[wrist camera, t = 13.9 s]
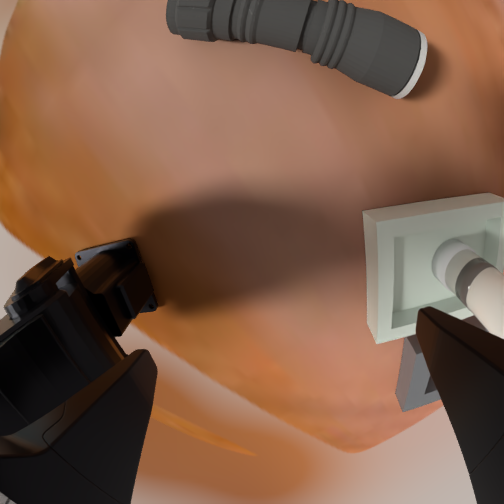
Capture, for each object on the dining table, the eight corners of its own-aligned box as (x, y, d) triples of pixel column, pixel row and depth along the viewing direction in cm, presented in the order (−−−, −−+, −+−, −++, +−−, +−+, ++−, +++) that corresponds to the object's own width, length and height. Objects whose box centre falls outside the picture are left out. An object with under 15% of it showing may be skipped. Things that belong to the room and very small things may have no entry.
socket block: (395, 393, 27) (402, 412, 24) (405, 334, 24) (416, 354, 21) (458, 371, 26) (468, 387, 23) (475, 312, 23) (490, 327, 20)
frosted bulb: (436, 288, 21) (521, 394, 9) (426, 253, 20) (530, 357, 8) (469, 266, 20) (561, 355, 8) (460, 230, 19) (572, 312, 7)
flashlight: (176, 48, 16) (148, 24, 11) (197, -9, 14) (178, -44, 9) (384, 103, 17) (419, 94, 12) (398, 43, 15) (431, 22, 10)
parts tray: (366, 322, 23) (376, 344, 20) (362, 210, 20) (376, 222, 17) (480, 291, 22) (495, 306, 19) (489, 192, 18) (510, 200, 15)
